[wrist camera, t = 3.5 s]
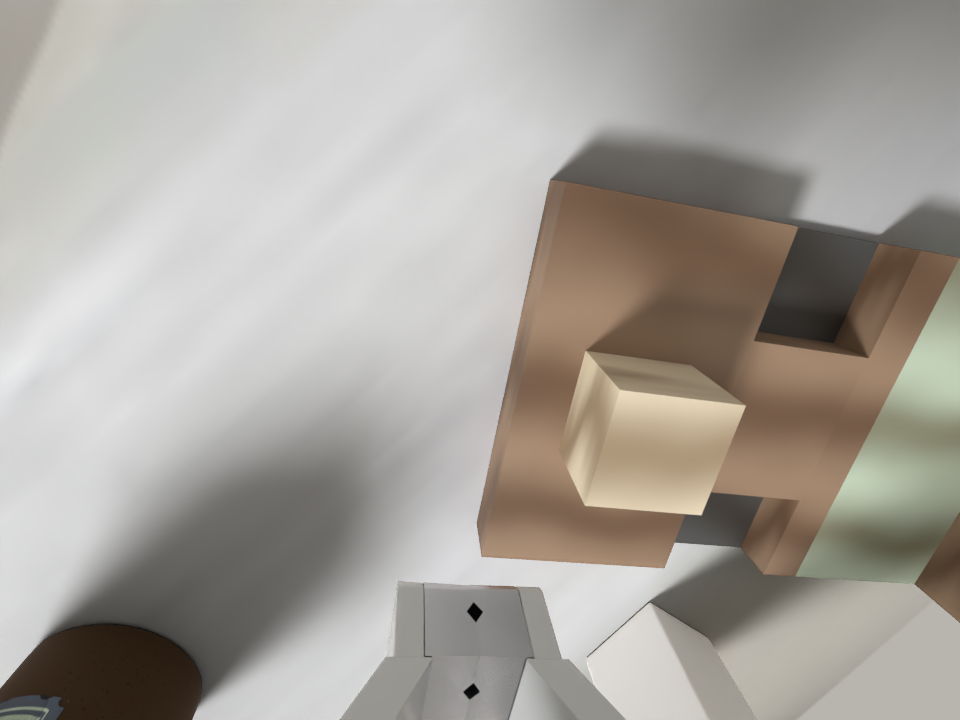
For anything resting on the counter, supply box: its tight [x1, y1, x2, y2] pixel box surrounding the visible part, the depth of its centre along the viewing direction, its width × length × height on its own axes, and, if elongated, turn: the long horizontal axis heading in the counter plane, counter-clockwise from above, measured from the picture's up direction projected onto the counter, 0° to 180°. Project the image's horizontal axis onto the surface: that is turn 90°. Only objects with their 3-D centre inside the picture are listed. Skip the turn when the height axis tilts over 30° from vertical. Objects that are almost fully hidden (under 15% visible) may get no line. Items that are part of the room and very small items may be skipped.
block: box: [559, 351, 746, 515], centre depth 20 cm, size 5×5×4 cm
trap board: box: [477, 180, 960, 622], centre depth 23 cm, size 18×27×6 cm, turn 80°
